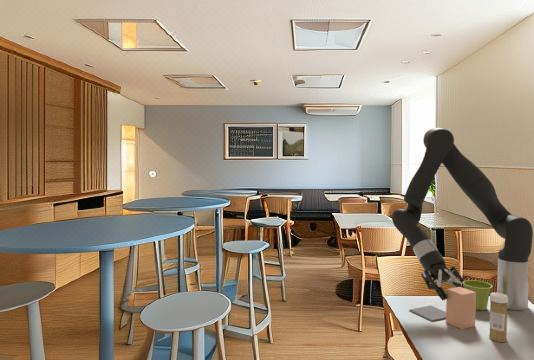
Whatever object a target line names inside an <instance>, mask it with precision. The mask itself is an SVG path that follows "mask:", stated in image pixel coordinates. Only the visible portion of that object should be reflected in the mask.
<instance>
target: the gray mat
mask: <svg viewBox="0 0 534 360" xmlns="http://www.w3.org/2000/svg"><path fill="white" fill-rule="evenodd" d="M409 312H411V313H414V314H416V315H418V316H420V317H421V318H424V319H426V320H429V321H430V322H437V321H443V320H446V310H442V309H440V308H438V307H435V306H433V305H432V304H431V305H426V306H422V307H414V308H410V309H409Z"/></svg>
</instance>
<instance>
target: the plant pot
mask: <svg viewBox="0 0 534 360" xmlns="http://www.w3.org/2000/svg"><path fill="white" fill-rule="evenodd" d="M462 285H463V288H465V289H468V290H471V291H474V292H476V311H477V310H480V311H485V310H487V309H488V303H489V300H490V293H491V291H492V289H493V285H492V284H491V283H489V282H487V281H486V282H485V281H482V280H476V279H475V280H474V279H471V280H470V279H467V280H464V281H463V282H462Z"/></svg>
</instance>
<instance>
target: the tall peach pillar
mask: <svg viewBox="0 0 534 360" xmlns="http://www.w3.org/2000/svg"><path fill="white" fill-rule="evenodd" d="M462 287H463V286H462ZM462 287H455V286H454V287H450V288H446V295H447V297H448V298H447V299H446V300H445V301H446V302H445V309H446V310H445V312H446V319H445V322H446V323H447V324H449V325H452V326H453V327H456V328H459V329H460V330H463V329H469V328H473V327H475V326H476V312H477V310H476V292H474V291H471V290H468V289H465V288H464V287H463V288H462Z"/></svg>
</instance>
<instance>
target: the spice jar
mask: <svg viewBox="0 0 534 360" xmlns="http://www.w3.org/2000/svg"><path fill="white" fill-rule="evenodd" d="M489 300H490V305H489V307H490V308H489V309H490V310H489V334H488V337H489V338H490V339H491V340H492V341H494V342H497V343H505V342H507V341H508V338H507V330H508V309H507V303H508V296H507V295H505V294H503V293H497V291H496V292H493V291H492V292H490V293H489Z"/></svg>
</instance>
